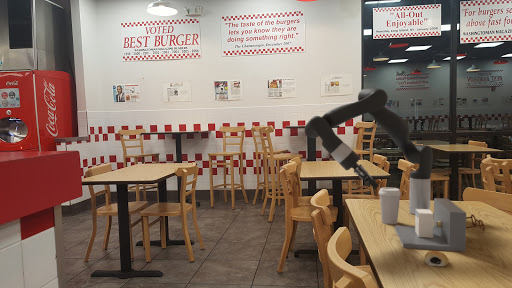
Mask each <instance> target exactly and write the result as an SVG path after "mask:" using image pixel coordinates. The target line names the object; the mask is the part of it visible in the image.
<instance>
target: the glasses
mask: <svg viewBox="0 0 512 288" xmlns="http://www.w3.org/2000/svg"><path fill="white" fill-rule="evenodd" d="M468 219H470V220H471V223H472V225H469V226H467V225H466V229H471V228H478V227H479V229H480V231H481V232H483V231H484V232H485V230H486V229H485V225H484V222H483V220H481V219H476V217H475V214H471V215H470V216H466V220H468ZM473 219H474V220H473ZM477 223H478V224H477Z"/></svg>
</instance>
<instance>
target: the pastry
mask: <svg viewBox="0 0 512 288" xmlns="http://www.w3.org/2000/svg"><path fill="white" fill-rule="evenodd" d="M423 261H424V264H426V265H427V266H431V267H440V268H441V267H442V268H443V267H447V266H448V265H449V258H448V257H447V255H446V254H445V253H444V252H442V251H439V250H431V251H427V252H426V253H425V254H424V260H423Z"/></svg>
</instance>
